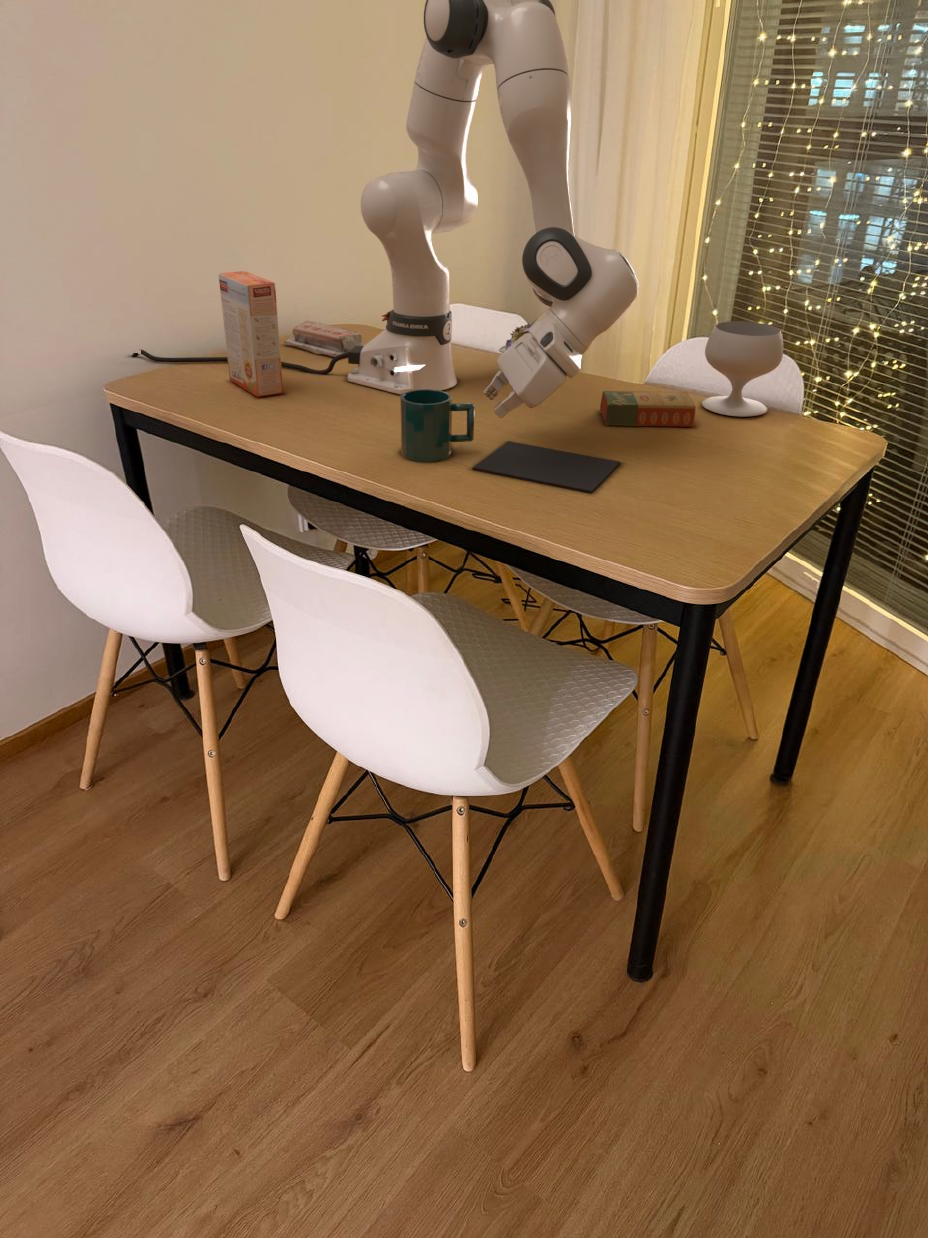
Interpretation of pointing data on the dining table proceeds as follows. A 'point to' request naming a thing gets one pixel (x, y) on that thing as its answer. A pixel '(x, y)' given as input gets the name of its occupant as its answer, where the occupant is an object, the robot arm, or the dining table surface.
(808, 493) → the dining table surface
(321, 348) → the packaged product
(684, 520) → the dining table surface
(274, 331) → the cracker box
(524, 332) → the passion flower
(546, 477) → the placemat
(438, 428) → the mug
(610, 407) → the carton
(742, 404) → the chalice
